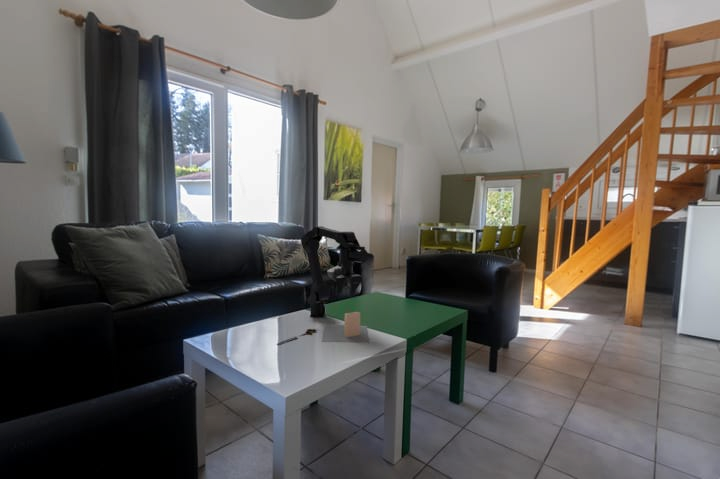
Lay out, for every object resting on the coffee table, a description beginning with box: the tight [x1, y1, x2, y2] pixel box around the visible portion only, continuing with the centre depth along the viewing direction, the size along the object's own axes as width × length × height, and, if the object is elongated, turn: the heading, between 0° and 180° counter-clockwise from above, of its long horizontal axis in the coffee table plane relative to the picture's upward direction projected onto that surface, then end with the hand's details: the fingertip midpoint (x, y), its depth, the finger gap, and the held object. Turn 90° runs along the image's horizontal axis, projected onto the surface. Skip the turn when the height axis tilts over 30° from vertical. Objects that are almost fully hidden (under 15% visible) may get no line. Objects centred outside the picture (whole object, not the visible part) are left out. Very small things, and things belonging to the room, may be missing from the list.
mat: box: [321, 324, 370, 344], centre depth 142 cm, size 18×20×1 cm
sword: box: [276, 328, 317, 346], centre depth 135 cm, size 25×4×2 cm, turn 141°
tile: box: [343, 311, 361, 337], centre depth 139 cm, size 2×6×9 cm, turn 121°
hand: (345, 295), depth 154 cm, fingers open, 9 cm apart
